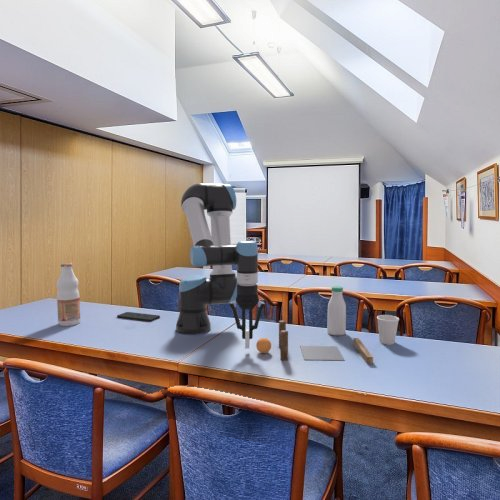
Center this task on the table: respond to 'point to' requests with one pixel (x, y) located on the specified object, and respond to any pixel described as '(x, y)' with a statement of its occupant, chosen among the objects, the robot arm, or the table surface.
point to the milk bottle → (336, 313)
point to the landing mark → (321, 353)
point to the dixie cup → (387, 328)
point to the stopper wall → (363, 351)
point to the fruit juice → (68, 297)
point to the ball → (263, 345)
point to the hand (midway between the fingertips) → (247, 347)
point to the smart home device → (138, 316)
